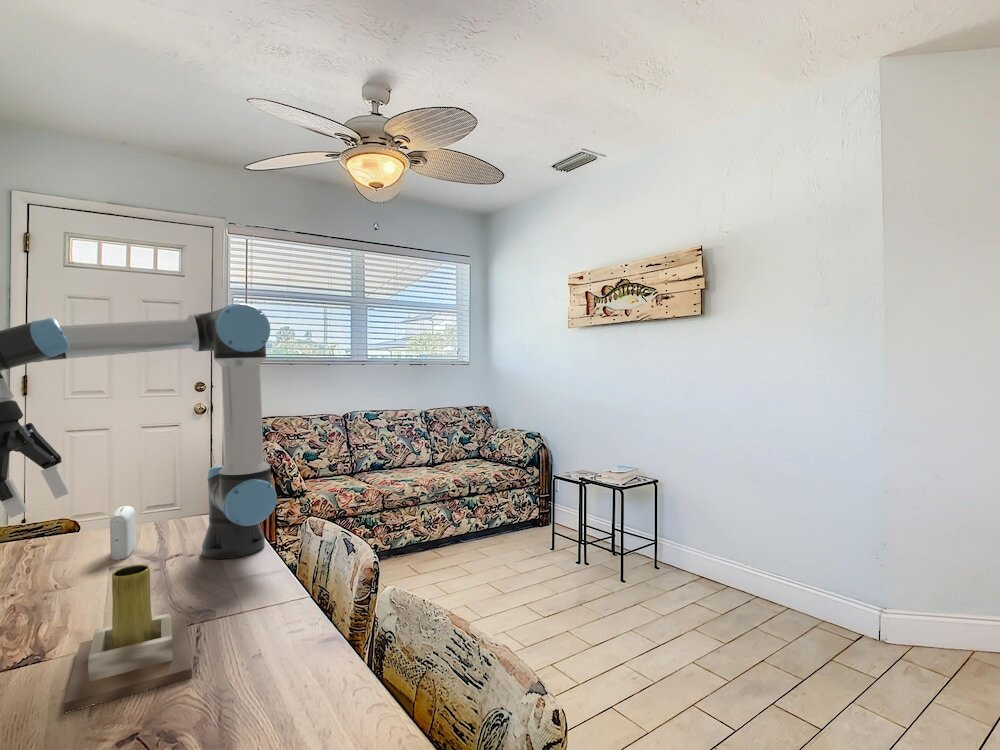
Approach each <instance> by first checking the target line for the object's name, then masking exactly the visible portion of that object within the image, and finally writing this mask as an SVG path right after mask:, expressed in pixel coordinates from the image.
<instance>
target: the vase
mask: <svg viewBox="0 0 1000 750" xmlns="http://www.w3.org/2000/svg"><path fill="white" fill-rule="evenodd" d="M150 569H151V568H150V566H149V565H147V564H133V565H127V566H124V567H122V568H119V569H115V570H114V571H113V572H112V573H111V597H112V617H111V619H112V623H111V626H112V650H113V649H117V648H121V647H125V646H129V645H133V644H138V643H142V642H146V641H150V640H154V636H153V624H152V617H153V616H152V601H151V599H152V598H151V570H150Z"/></svg>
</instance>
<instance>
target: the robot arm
mask: <svg viewBox="0 0 1000 750" xmlns="http://www.w3.org/2000/svg"><path fill="white" fill-rule="evenodd" d="M270 335H271V324H270V321H269V319H268V317H267V315H266V314H265V313H264V312H263V311H262V310H260V309H259V308H258V307H256V306H254V305H252V304H248V303H241V302H240V303H231V304H228V305H226V306H224V307H223V308H218V309H216V310H213V311H210V312H204V313H193V314H192V313H191V314H189V315H188V316H187V318H177V319H175V318H173V319H156V320H141V321H125V322H120V321H119V322H108V323H107V322H105V323H103V322H102V323H90V324H89V323H88V324H87V323H86V324H72V325H71V324H70V325H60V324H59V322H58V320H57V319H55V318H49V317H48V318H45V319H40V320H33V321H32V322H28V323H24V324H21V325H16V326H13V327H9V328H6V329H5V328H4V329H2V330H0V502H1V503H2V506H3V508H4V509H5V511H6V513H7V515H8V517H9V518H10V519H11V518H13V517H17V516H19V515H21V514H23V513H27V512H28V511H29V509H28V507H27V505H26V504H25V502H24V500H23V498H22V496H21V494H20V492H19V490H18V488H17V486H16V484H15V483H14V482H13V479H9V480H8V472H9V471H8V470H9V461H10V453H11V452H13V451H14V452H17V453H21V454H23V455H24V456H25V457H26V458H28V459H29V460H31V461H32V462H34V463H35V464H36V465H38V466H39V467H40V468H41V469H43V470H40V473H41V474H42V477H43V479H44V480H45V482H46V484H47V486H48V488H49V489H50V491H51V493H52V495H53V497H54V499H55V500H56V499H59V498H62V497H63V496H66V495H68V494H71V493H72V492H71V489H70V488H69V486H68V484H67V482H66V480H65V478H64V477H63V475H62V472H61V471H60V469H59V466H58V465H59V464H61V463H62V457H61V455H60V454H59V453H58V452H57V451H56V449H54V447H52V446H51V444H50V443H49V442H48V441H47V440H46V439H45V438H44V437H43V436H42V435H41V434H40V433H39V432H38V430H37V429H36V427H35V425H34V424H33V423H31V422H28V423H25V424H23V425H21V424H20V422H19V420H21V419H22V418H23V416H24V413H23V412H22V409H21V407H20V406H19V404H18V403H17V402H18V401H15V400H13V398H14V393H12V391H11V389H10V386H8V383H7V382H6V380H5V378H4V376H3V374H2V371H5V370H9V369H13V368H16V367H19V366H23V365H27V364H31V363H40V362H45V361H58V360H59V361H60V360H65V359H66V360H68V359H78V358H79V359H80V358H81V359H82V358H89V357H91V358H92V357H104V356H113V355H129V354H136V353H137V354H138V353H150V352H159V351H160V352H161V351H162V352H163V351H174V350H187V349H191V350H192V351H194V352H196V353H197V352H213V360H214V361H215V362H216V363H217V364H218V365H219V366H220V367H221V383H222V384H221V385H222V386H221V387H222V405H223V406H222V408H223V409H222V410H223V411H222V412H223V429H224V430H223V432H224V433H223V435H224V452H225V453H224V456H225V457H224V458H225V463H224V465H218V466H213V467H211V468H209V470H208V474H207V475H208V476H207V482H208V485H207V486H208V522H209V523H208V527H207V530H206V532H205V535H204V539H203V542H202V546H201V551H202V553H201V554H202V556H203V557H205V558H207V559H214V560H224V559H226V560H227V559H234V557H235V558H240V556H241V557H244V556H248V554H249V555H252V554H254V553H257V552H259V551H260V550H262V549H263V548H264V547H265V544H266V543H265V541H266V540H265V535H264V532H263V530H262V527H261V523H262V522H263V521H265V520H267V519H268V517H270V516H271V514H272V513H273V512H274V510H275V508H276V506H277V502H278V501H277V500H278V495H277V491H276V489H275V487H274V485H273V484H272V474H271V473H272V472H271V465H270V464H269V463H268V462H266V461H265V457H264V439H263V438H264V434H263V414H262V413H263V412H262V389H261V388H262V387H261V365H262V364H263V362H264V361H265V360H267V347H266V345H267V343H268V341H269V338H270ZM251 553H252V554H251Z"/></svg>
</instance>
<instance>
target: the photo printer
mask: <svg viewBox="0 0 1000 750" xmlns="http://www.w3.org/2000/svg"><path fill="white" fill-rule="evenodd" d="M136 530H137V529H136V511H135V509H134V508H133V507H132V506H130V505H126V506H125V505H124V506H120V507H118V508H117V509H115V511H114V512H113V514H112V515H111V517H110V520H109V531H110V532H109V535H110V536H109V538H110V540H109V543H110V544H109V545H110V547H109V548H110V560H113V561H121V560H125V559H126V558H128V557H129V556H130V555H132V553H133V551H135V548H136V546H137V545H136V544H137V535H136V534H137V531H136ZM120 559H121V560H120Z"/></svg>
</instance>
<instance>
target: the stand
mask: <svg viewBox="0 0 1000 750" xmlns="http://www.w3.org/2000/svg"><path fill="white" fill-rule="evenodd" d="M171 615H172V614H171V613H170V612H169V613H165V614H161V615H155V616H152V624H153V636H154V640H150V641H146V642H142V643H138V644H133V645H129V646H125V647H121V648H117V649H113V650H112V625H111V626H105V627H102V628H97V629H94V632H93V636H92V639H91V640H86V641H82V642H79V645H78V650H77V653H76V656H75V661H74V664H73V667H72V671H71V676H70V680H69V683H68V686H67V690H66V693H65V697H64V701H63V714H66V713H65V712H68V713H70V712H69V711H72V710H75V711H78V710H77V709H79V708H82V707H86V706H89V705H92V704H96V705H98V704H97V703H100V704H102V703H101V702H103V703H106V702H105V701H107V702H110V701H109V700H111V701H114V700H117V698H118V699H120V698H125V697H127V696H131V695H136V694H139V693H142V691H143V692H145V691H144V690H146V691H148V690H147V689H150V688H153V689H155V688H154V687H157V688H159V687H158V686H160V687H163V686H162V685H164V686H166V685H165V684H167V685H171V684H173V682H175V683H177V681H178V682H181V681H180V680H182V681H185V680H188V679H189V680H190V679H192V678H193V674H192V673H193V667H192V661H191V659H192V658H191V651H190V643H189V641H190V640H189V636H188V635H189V633H188V627H187V625H188V623H187V619H186V618H182V619H178V620H174V621H172V616H171ZM170 683H171V684H170ZM150 690H151V689H150ZM138 692H139V693H138ZM89 707H90V706H89ZM86 708H87V707H86ZM82 709H83V708H82ZM79 710H80V709H79ZM72 712H73V711H72Z"/></svg>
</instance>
